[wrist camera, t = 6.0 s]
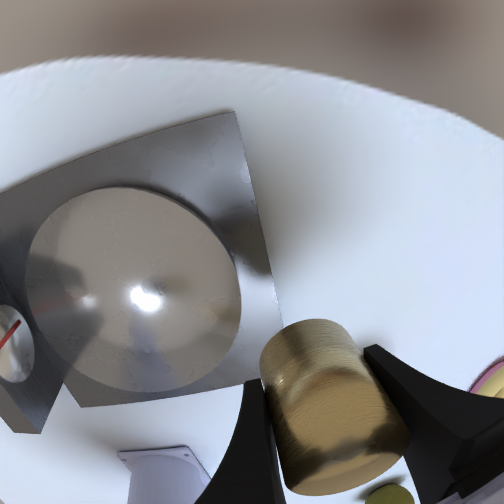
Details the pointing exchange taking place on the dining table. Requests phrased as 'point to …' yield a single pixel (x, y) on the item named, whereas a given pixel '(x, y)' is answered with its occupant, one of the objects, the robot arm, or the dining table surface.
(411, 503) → the apple
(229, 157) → the scale
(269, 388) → the cylinder
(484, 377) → the donut
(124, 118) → the dining table surface
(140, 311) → the scale pan
